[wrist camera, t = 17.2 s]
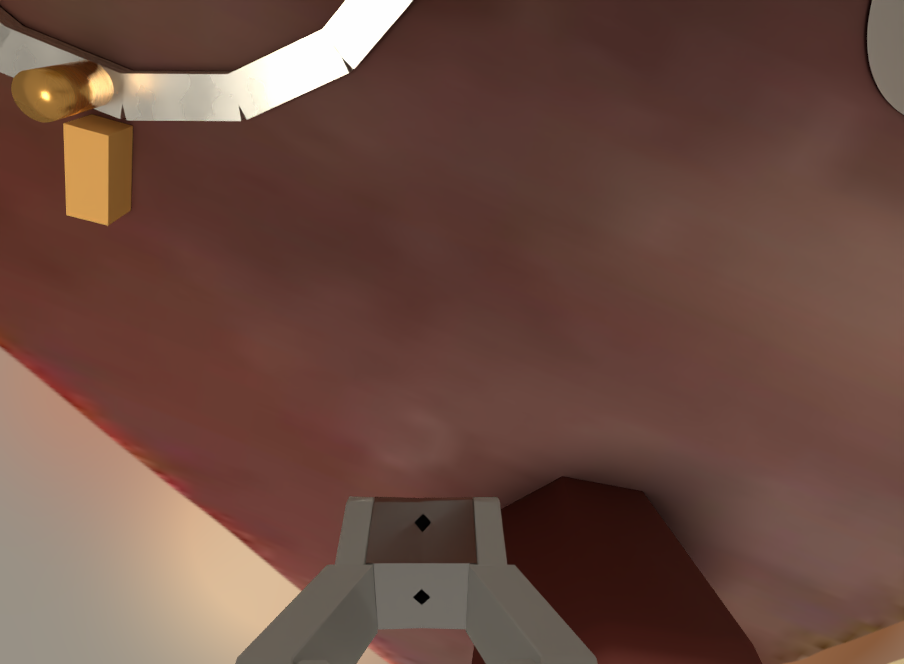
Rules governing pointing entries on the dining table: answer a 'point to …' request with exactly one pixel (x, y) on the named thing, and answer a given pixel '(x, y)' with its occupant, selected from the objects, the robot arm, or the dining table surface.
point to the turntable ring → (186, 73)
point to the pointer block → (98, 168)
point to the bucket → (619, 577)
